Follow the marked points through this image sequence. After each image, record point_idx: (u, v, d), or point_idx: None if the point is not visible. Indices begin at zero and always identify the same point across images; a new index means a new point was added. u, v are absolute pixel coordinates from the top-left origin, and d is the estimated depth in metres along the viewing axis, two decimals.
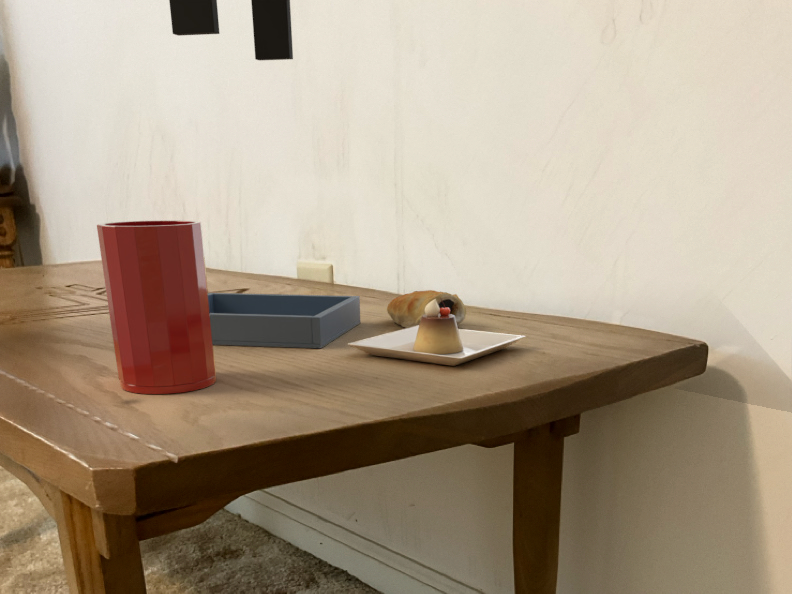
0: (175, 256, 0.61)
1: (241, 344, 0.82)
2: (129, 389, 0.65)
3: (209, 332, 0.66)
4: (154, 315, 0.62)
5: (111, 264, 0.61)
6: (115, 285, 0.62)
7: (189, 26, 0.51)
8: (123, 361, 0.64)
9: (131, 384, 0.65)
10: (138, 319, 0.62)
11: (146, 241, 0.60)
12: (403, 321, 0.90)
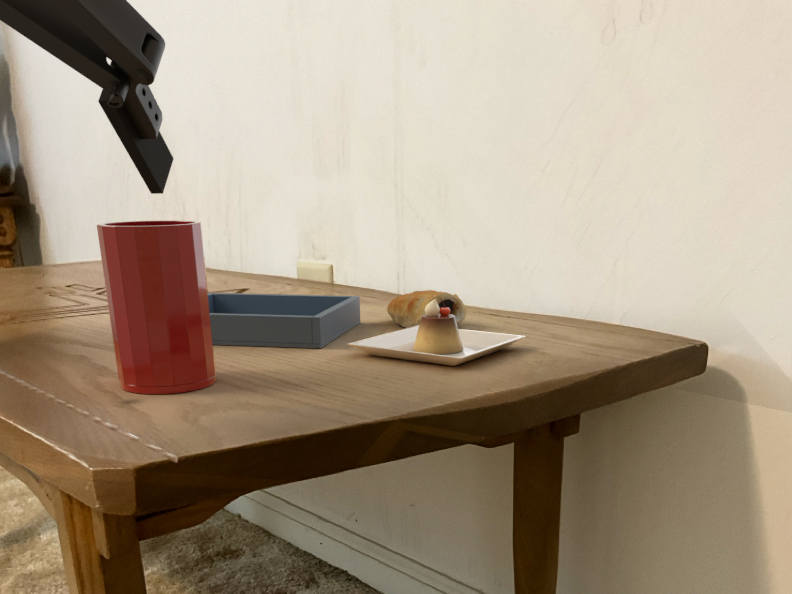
0: (175, 256, 0.61)
1: (241, 344, 0.82)
2: (129, 389, 0.65)
3: (209, 332, 0.66)
4: (154, 315, 0.62)
5: (111, 264, 0.61)
6: (115, 285, 0.62)
7: None
8: (123, 361, 0.64)
9: (131, 384, 0.65)
10: (138, 319, 0.62)
11: (146, 241, 0.60)
12: (403, 321, 0.90)
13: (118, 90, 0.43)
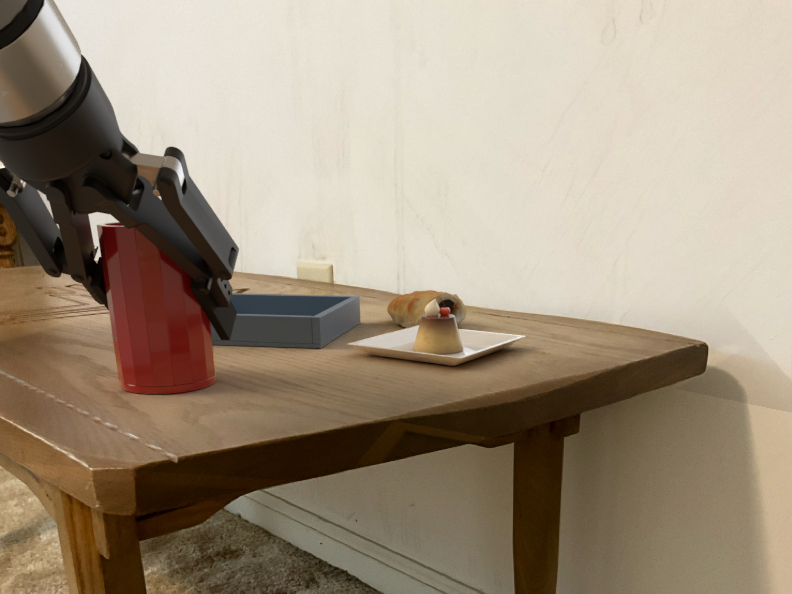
0: None
1: (241, 344, 0.82)
2: (129, 389, 0.65)
3: (209, 332, 0.66)
4: (154, 316, 0.62)
5: (111, 264, 0.61)
6: (115, 285, 0.62)
7: None
8: (123, 361, 0.64)
9: (131, 384, 0.65)
10: (138, 319, 0.62)
11: (146, 241, 0.60)
12: (403, 321, 0.90)
13: (208, 286, 0.61)
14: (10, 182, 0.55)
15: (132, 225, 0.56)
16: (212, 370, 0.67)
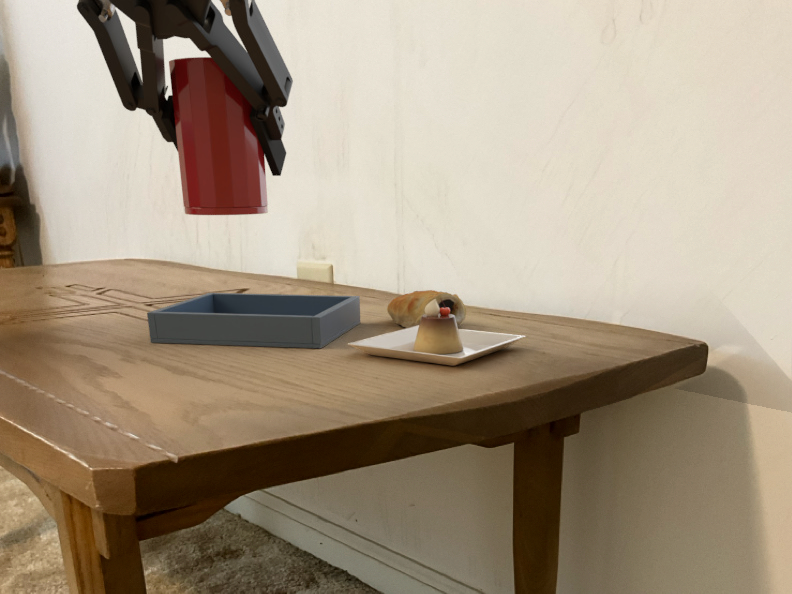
0: None
1: (241, 344, 0.82)
2: (193, 212, 0.74)
3: (263, 164, 0.75)
4: (218, 141, 0.71)
5: (181, 94, 0.71)
6: (184, 114, 0.71)
7: None
8: (189, 186, 0.74)
9: (196, 207, 0.74)
10: (204, 144, 0.71)
11: (213, 71, 0.69)
12: (403, 321, 0.90)
13: (266, 112, 0.70)
14: (101, 8, 0.65)
15: (205, 46, 0.65)
16: (265, 200, 0.76)
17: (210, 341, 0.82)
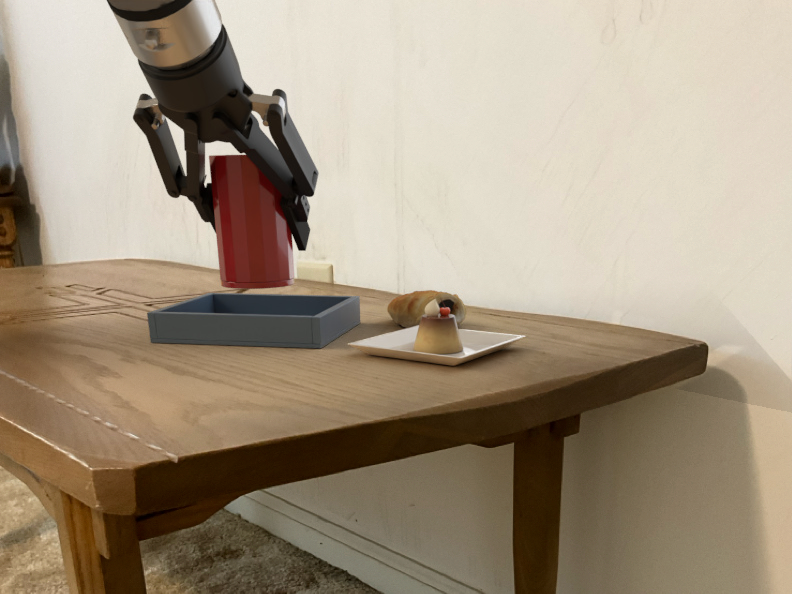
0: None
1: (241, 344, 0.82)
2: (230, 286, 0.84)
3: (291, 242, 0.85)
4: (252, 225, 0.81)
5: (220, 185, 0.80)
6: (223, 202, 0.81)
7: None
8: (226, 263, 0.83)
9: (232, 281, 0.84)
10: (240, 228, 0.81)
11: (249, 166, 0.79)
12: (403, 321, 0.90)
13: (295, 201, 0.80)
14: (154, 118, 0.74)
15: (244, 150, 0.75)
16: (292, 273, 0.86)
17: (210, 341, 0.82)
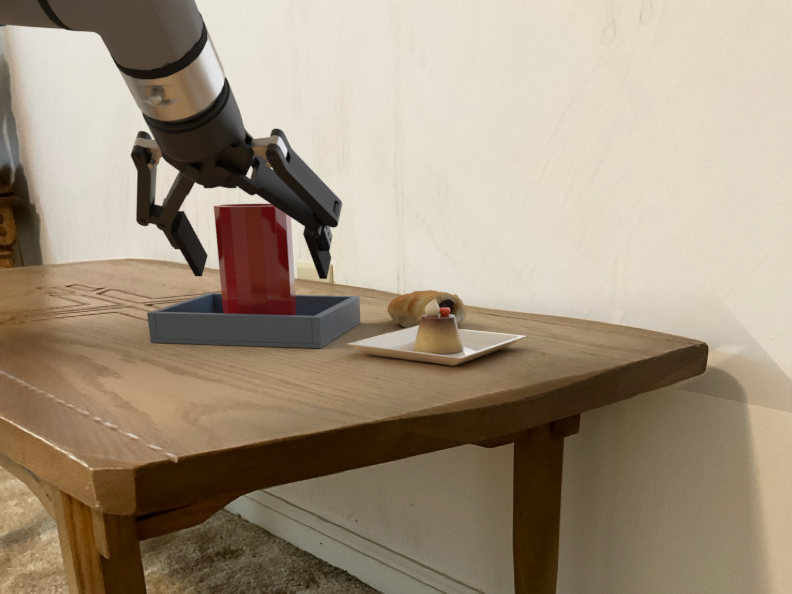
0: (273, 229, 0.82)
1: (241, 344, 0.82)
2: None
3: (294, 288, 0.86)
4: (256, 274, 0.83)
5: (225, 235, 0.82)
6: (227, 251, 0.82)
7: None
8: (230, 310, 0.85)
9: None
10: (244, 276, 0.83)
11: (253, 217, 0.81)
12: (403, 321, 0.90)
13: (317, 230, 0.79)
14: (151, 158, 0.75)
15: (253, 191, 0.75)
16: None
17: (210, 341, 0.82)
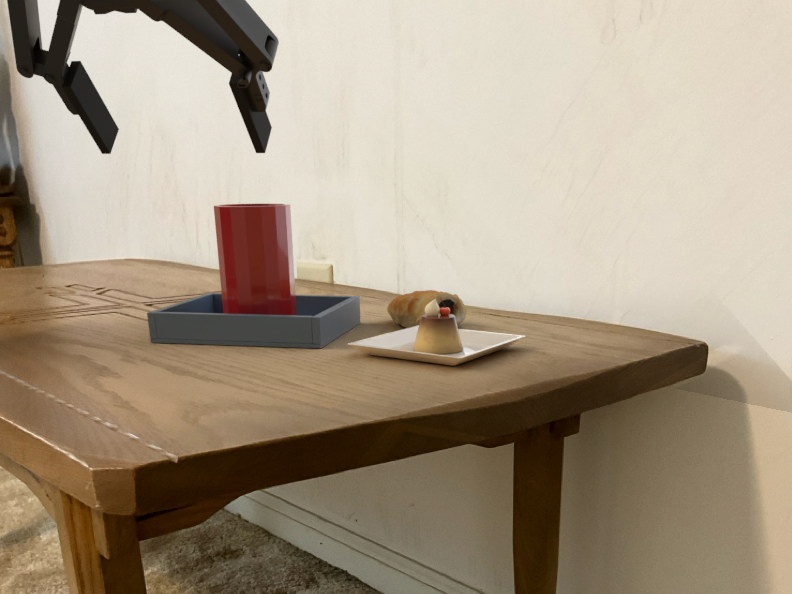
0: (273, 229, 0.82)
1: (241, 344, 0.82)
2: None
3: (294, 288, 0.86)
4: (256, 274, 0.83)
5: (225, 235, 0.82)
6: (227, 251, 0.82)
7: None
8: (230, 310, 0.85)
9: None
10: (244, 276, 0.83)
11: (253, 217, 0.81)
12: (403, 321, 0.90)
13: (246, 75, 0.61)
14: None
15: (157, 14, 0.57)
16: None
17: (210, 341, 0.82)
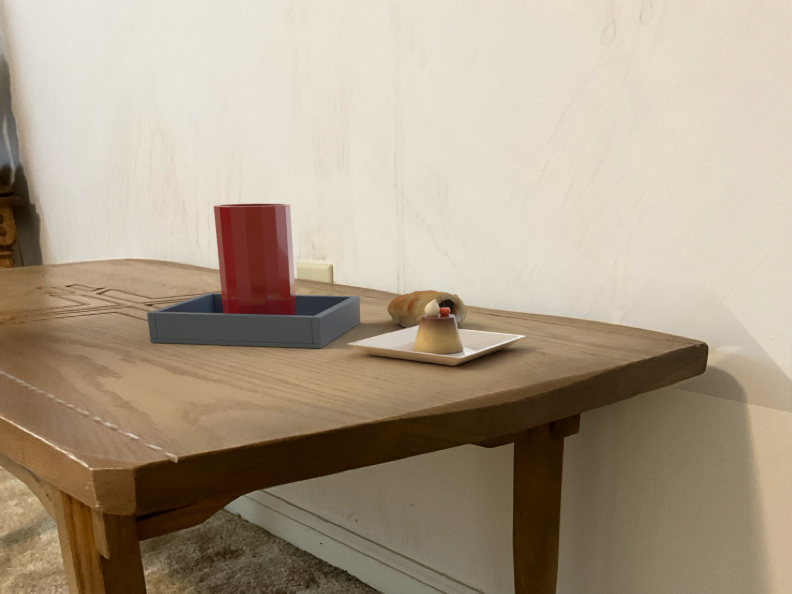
0: (273, 229, 0.82)
1: (241, 344, 0.82)
2: None
3: (294, 288, 0.86)
4: (256, 274, 0.83)
5: (225, 235, 0.82)
6: (227, 251, 0.82)
7: None
8: (230, 310, 0.85)
9: None
10: (244, 276, 0.83)
11: (253, 217, 0.81)
12: (403, 321, 0.90)
13: None
14: None
15: None
16: None
17: (210, 341, 0.82)
